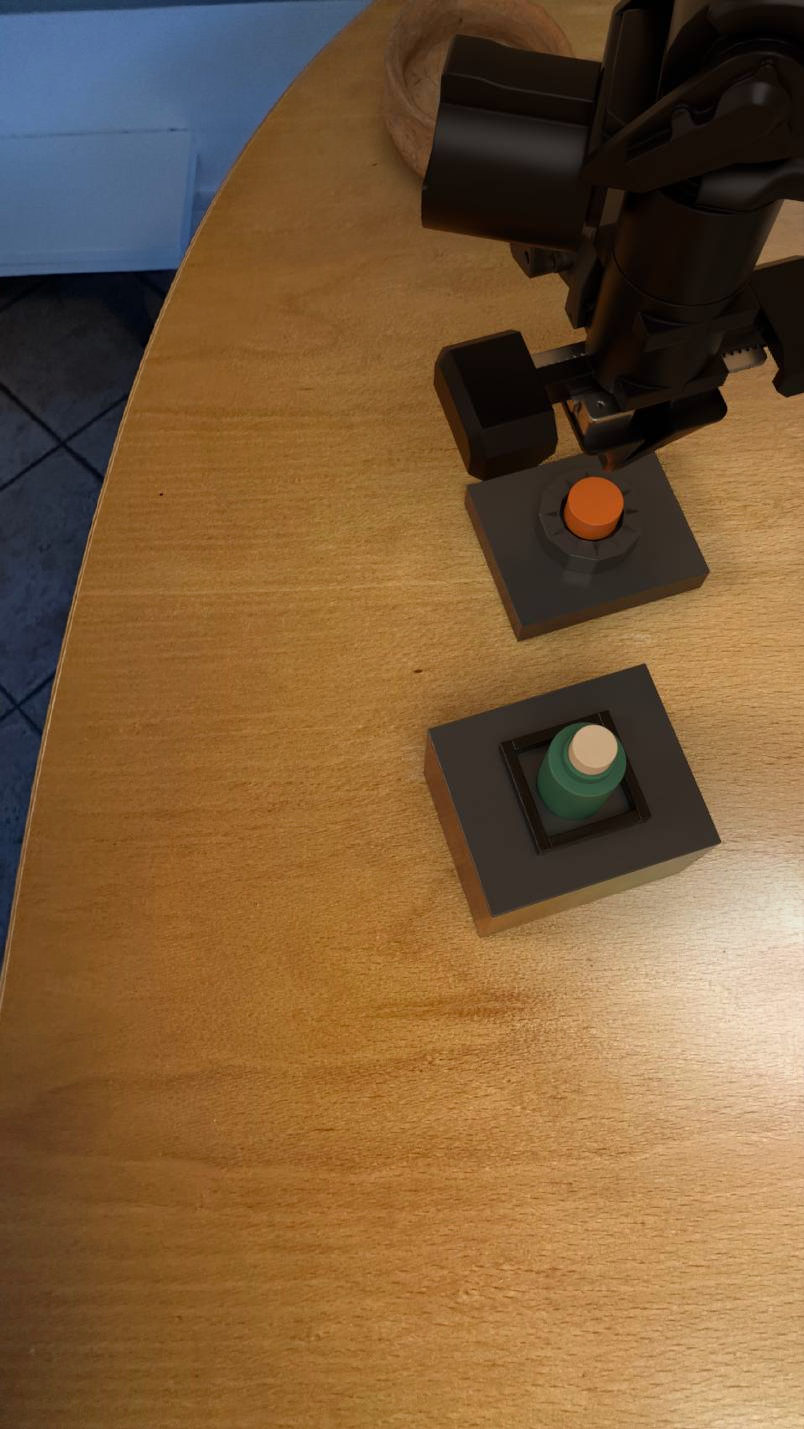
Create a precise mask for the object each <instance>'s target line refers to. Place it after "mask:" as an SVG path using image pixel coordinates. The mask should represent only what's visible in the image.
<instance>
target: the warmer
mask: <svg viewBox="0 0 804 1429" xmlns="http://www.w3.org/2000/svg"><path fill="white" fill-rule="evenodd" d="M582 722H587V723H594V724H598V725H600V726H603V727H605V728H606V729H608V730H609V731H611V732H612V733H613V734H614V735H615V736H616V737H617V738H618V739H619V741H620V742H621V744H622V746H623V748H624V751H625V755H626V769H625V773H624V776H623V778H622V780H621V781H620V783H619V784H618V785H617V787H616V788H615V789H614V791H613V792H612V793H611V795H610V796H609V797H608V799H607V800H606V801H605V803H604V804H603V805H602V807H601V808H600V809H599V810H598V811H597V812H596V813H594V814H593V815H591V816H589V817H586V818H583V819H577V820H573V819H566V818H562V817H560V816H557V815H555V814H554V813H552V812H551V811H550V810H548V809H547V808H546V807H545V805H544V804H543V803H542V801H541V799H540V797H539V795H538V792H537V787H536V779H537V774H538V771H539V769H540V766H541V764H542V762H543V760H544V758H545V755H546V753H547V751H548V749H549V747H550V745H551V742H552V741H553V739H554V737H555V736H556V735H557V734H558V733H559V732H560V731H561V730H563V729H564V728H566V727H567V726H570V725H572V724H576V723H582ZM423 777H424V779H425V782H426V785H427V788H428V791H429V794H430V797H431V800H432V803H433V806H434V808H435V811H436V815H437V817H438V820H439V823H440V826H441V829H442V833H443V835H444V838H445V840H446V843H447V847H448V850H449V854H450V856H451V858H452V861H453V864H454V867H455V871H456V872H457V875H458V879H459V882H460V885H461V888H462V891H463V894H464V897H465V900H466V903H467V905H468V909H469V911H470V915H471V918H472V920H473V923H474V926H475V929H476V933H477V935H478V937H479V939H484V938H486V937H490V936H492V935H496V934H499V933H502V932H504V931H507V930H510V929H513V928H516V927H520V926H522V925H526V924H529V923H532V922H534V921H535V922H536V921H538V920H542V919H544V918H547V917H550V916H553V915H556V914H559V913H562V912H565V911H568V910H571V909H574V908H578V907H581V906H584V905H587V904H590V903H594V902H596V901H599V900H602V899H605V898H608V897H611V896H614V895H617V894H621V893H624V892H627V891H630V890H632V889H636V888H638V887H642V886H645V885H649V884H651V883H654V882H657V881H660V880H663V879H666V878H669V877H672V876H675V875H679V874H681V873H682V872H684V871H685V870H686V869H688V868H689V867H691V866H692V865H694V864H695V863H696V862H698V861H699V860H700V859H702V858H703V857H704V856H705V855H707V854H709V853H710V852H712V850H714V849H715V848H717V847H718V846H719V845H721V844H722V839H721V837H720V834H719V832H718V830H717V828H716V825H715V822H714V821H713V818H712V816H711V814H710V811H709V809H708V806H707V804H706V802H705V799H704V797H703V794H702V792H701V790H700V787H699V785H698V782H697V781H696V778H695V776H694V774H693V771H692V769H691V766H690V763H689V762H688V758H687V757H686V754H685V751H684V750H683V747H682V745H681V743H680V741H679V739H678V736H677V734H676V731H675V729H674V726H673V723H672V722H671V720H670V716H669V714H668V712H667V710H666V707H665V705H664V703H663V701H662V698H661V696H660V693H659V690H658V689H657V687H656V684H655V682H654V680H653V677H652V674H651V672H650V670H649V667H648V665H647V663H646V662H643V663H639V664H637V665H633V666H630V667H627V668H624V669H621V670H618V671H614V672H611V673H608V674H604V675H601V676H598V677H595V678H591V679H588V680H584V681H581V682H578V683H575V684H571V685H568V686H565V687H562V688H558V689H554V690H551V691H549V692H545V693H542V694H537V695H536V696H532V697H529V698H525V699H521V700H517V701H516V702H515V701H514V702H512V703H509V704H505V705H502V706H499V707H496V708H492V709H489V710H485V711H483V712H478V713H476V714H473V715H469V716H466V717H463V718H459V719H457V720H453V721H450V722H447V723H444V724H443V723H442V724H440V725H437V726H434V727H430V728H427V730H426V738H425V752H424V763H423Z"/></svg>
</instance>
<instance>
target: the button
mask: <svg viewBox="0 0 804 1429" xmlns="http://www.w3.org/2000/svg"><path fill="white" fill-rule="evenodd" d="M623 505H624V501H623V496H622V494H621V492H620V490H619V489H618V487H617V486H616V485H615V484H613V483H612V482H611V481H609V480H607V479H604V478H600V477H589V478H585V479H582V480H580V481H579V482H577V483H576V484H575V485H574V486H573V487H572V489H571V490H570V493H569V496H568V499H567V503H566V506H565V510H564V519H565V522H566V524H567V526H568V528H569V529H570V530H571V531H572V532H573V533H574V534H576V535H577V536H579V537H581V538H584V539H590V540H595V539H601V538H603V537H606V536H607V535H609V534H610V533H611V532H612V531H613V530H614V529H615V527H616V525H617V522H618V520H619V517H620V515H621V512H622V510H623Z"/></svg>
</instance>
